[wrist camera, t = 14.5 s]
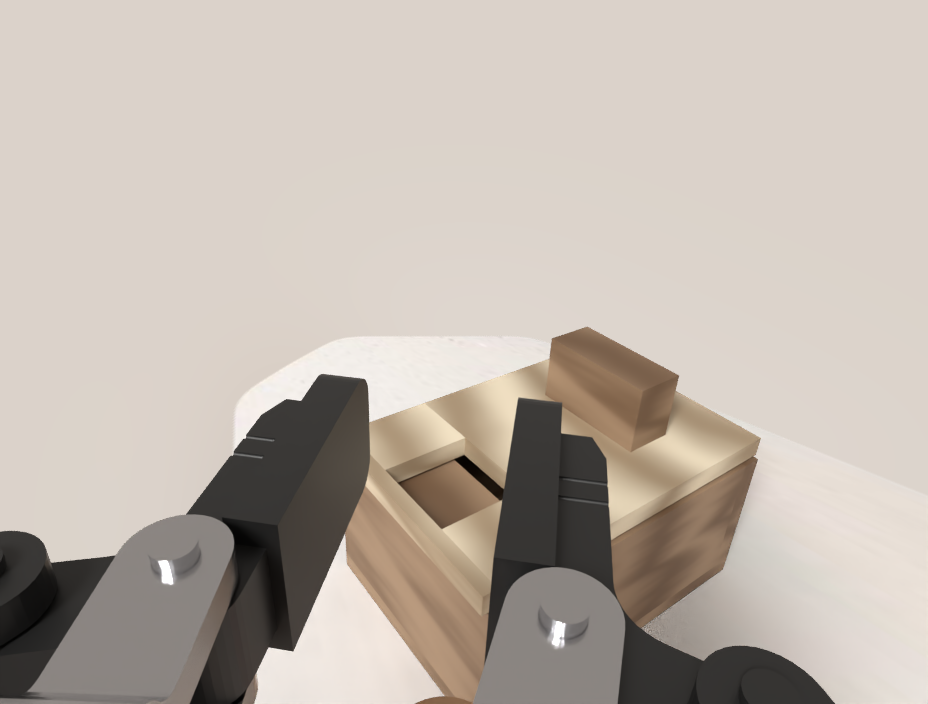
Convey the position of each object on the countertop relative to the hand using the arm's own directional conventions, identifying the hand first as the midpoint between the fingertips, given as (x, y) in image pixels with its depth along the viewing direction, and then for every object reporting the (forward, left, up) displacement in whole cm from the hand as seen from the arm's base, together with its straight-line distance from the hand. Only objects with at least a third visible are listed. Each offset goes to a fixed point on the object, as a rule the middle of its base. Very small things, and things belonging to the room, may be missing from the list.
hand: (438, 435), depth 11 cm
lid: (-18, -14, -17) cm, 28 cm away
